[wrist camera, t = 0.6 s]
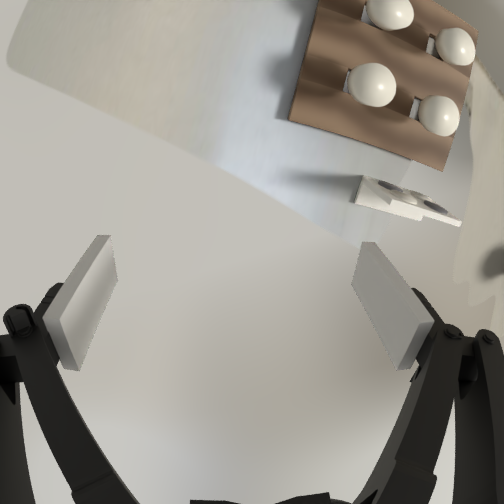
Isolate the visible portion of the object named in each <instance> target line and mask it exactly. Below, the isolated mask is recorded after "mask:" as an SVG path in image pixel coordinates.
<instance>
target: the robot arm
mask: <svg viewBox="0 0 504 504" xmlns="http://www.w3.org/2000/svg"><path fill="white" fill-rule="evenodd" d="M117 281H118V278H117V273H116V266H115V260H114V254H113V248H112V240H111V235H97V237H96V238H95V239H94V241H93V242H92V244H91V245H90V246H89V248H88V249H87V250H86V252H85V253H84V255H83V256H82V257H81V259H80V260H79V262H78V263H77V265H76V266H75V268H74V269H73V271H72V272H71V273H70V275H69V277H68V278H67V279H66V281H65V282H64V283H57V284H55V285H54V286H53V287H51V288H50V289H49V291H48V292H47V293H46V295H45V297H44V298H43V299H42V301H41V303H40V304H39V306H38V307H37V309H36V310H35V312H34V313H33V310H32V308H31V307H30V306H28V305H26V304H19V305H15V306H13V307H11V308H10V309H8V310H7V311H6V312H5V314H4V316H3V322H4V324H5V326H6V328H7V330H8V332H9V334H7V335H0V504H35V499H34V495H33V491H32V486H31V481H30V476H29V470H28V465H27V459H26V452H25V445H24V438H23V429H22V418H21V405H20V385H19V382H24V384H25V387H26V390H27V393H28V396H29V399H30V401H31V404H32V407H33V409H34V412H35V414H36V417H37V419H38V422H39V424H40V427H41V429H42V431H43V434H44V436H45V438H46V440H47V443H48V445H49V447H50V449H51V451H52V453H53V455H54V457H55V459H56V461H57V463H58V465H59V467H60V469H61V471H62V473H63V475H64V477H65V479H66V481H67V482H68V484H69V486H70V488H71V490H72V493H71V495H72V498H73V500H74V502H75V504H140V503H139V502H138V501H137V500H136V498H135V497H134V496H133V495H132V493H131V492H130V490H129V489H128V488H127V486H126V485H125V484H124V482H123V481H122V480H121V478H120V477H119V475H118V474H117V473H116V471H115V470H114V468H113V467H112V465H111V464H110V463H109V461H108V459H107V458H106V456H105V455H104V453H103V452H102V450H101V448H100V447H99V445H98V444H97V442H96V440H95V439H94V437H93V435H92V434H91V432H90V430H89V429H88V427H87V425H86V423H85V422H84V420H83V418H82V416H81V414H80V413H79V411H78V409H77V407H76V405H75V403H74V402H73V400H72V398H71V396H70V394H69V392H68V390H67V388H66V386H65V384H64V382H63V379H62V377H61V375H60V374H59V371H58V369H57V367H56V366H57V364H58V362H59V359H60V361H61V363H62V366H63V368H64V369H69V370H75V371H80V369H81V366H82V364H83V361H84V359H85V356H86V353H87V351H88V348H89V345H90V343H91V341H92V339H93V336H94V334H95V331H96V329H97V326H98V324H99V322H100V319H101V317H102V315H103V312H104V310H105V308H106V305H107V303H108V301H109V299H110V297H111V294H112V292H113V290H114V287H115V286H116V283H117ZM351 285H352V287H353V288H354V290H355V292H356V294H357V296H358V298H359V299H360V301H361V303H362V305H363V306H364V309H365V311H366V312H367V314H368V316H369V318H370V320H371V322H372V324H373V326H374V327H375V329H376V331H377V333H378V335H379V337H380V339H381V341H382V343H383V345H384V347H385V349H386V351H387V353H388V355H389V357H390V359H391V361H392V363H393V365H394V367H395V369H396V371H397V370H404V369H410V368H411V367H412V365H413V363H414V361H415V359H416V360H417V362H418V363H419V366H418V368H417V370H416V372H415V373H414V375H413V377H412V378H411V380H410V382H412V383H411V386H410V389H409V392H408V394H407V397H406V399H405V402H404V404H403V407H402V409H401V412H400V414H399V416H398V419H397V421H396V424H395V426H394V428H393V430H392V433H391V435H390V437H389V439H388V441H387V444H386V446H385V448H384V450H383V452H382V454H381V456H380V458H379V460H378V462H377V464H376V466H375V468H374V470H373V472H372V474H371V476H370V477H369V479H368V481H367V483H366V485H365V487H364V488H363V490H362V491H361V493H360V494H359V496H358V497H357V498H356V499H355V501H354V502H353V503H352V504H428V503H429V501H430V498H431V496H432V493H433V490H434V488H435V484H436V480H437V476H436V475H434V474H433V471H434V468H435V465H436V462H437V459H438V456H439V453H440V449H441V446H442V442H443V439H444V436H445V432H446V428H447V425H448V421H449V417H450V413H451V409H452V404H453V400H454V402H455V433H456V436H455V438H456V439H455V475H454V490H453V501H452V504H504V354H503V350H502V347H501V344H500V341H499V338H498V337H497V336H496V335H495V333H493V332H492V331H489V330H486V329H481V330H479V331H478V333H477V334H476V336H475V338H474V337H467V336H464V335H463V333H462V331H461V330H460V329H459V328H457V327H455V326H454V325H451V324H445V323H444V322H443V321H442V319H441V318H440V317H439V315H438V314H437V312H436V311H435V310H434V308H433V307H432V306H431V304H430V303H429V302H428V300H427V299H426V298H425V296H424V295H423V294H422V293H421V292H419V291H418V290H417V289H415V288H410V286H409V285H408V284H407V283H406V281H405V280H404V279H403V277H402V276H401V275H400V274H399V272H398V271H397V270H396V269H395V267H394V266H393V265H392V263H391V262H390V261H389V260H388V258H387V257H386V256H385V255H384V253H383V252H382V251H381V250H380V248H379V247H378V246H377V245H376V243H375V242H362V245H361V249H360V253H359V257H358V261H357V265H356V270H355V273H354V277H353V281H352V284H351ZM190 504H238V503H234V502H229V501H210V500H209V501H208V500H190ZM276 504H351V503H349V502H345V501H342V500H335V499H330V495H329V492H326V493H320V494H314V495H306V496H298V497H294V498H291V499H288V500H285V501H282V502H279V503H276Z"/></svg>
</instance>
